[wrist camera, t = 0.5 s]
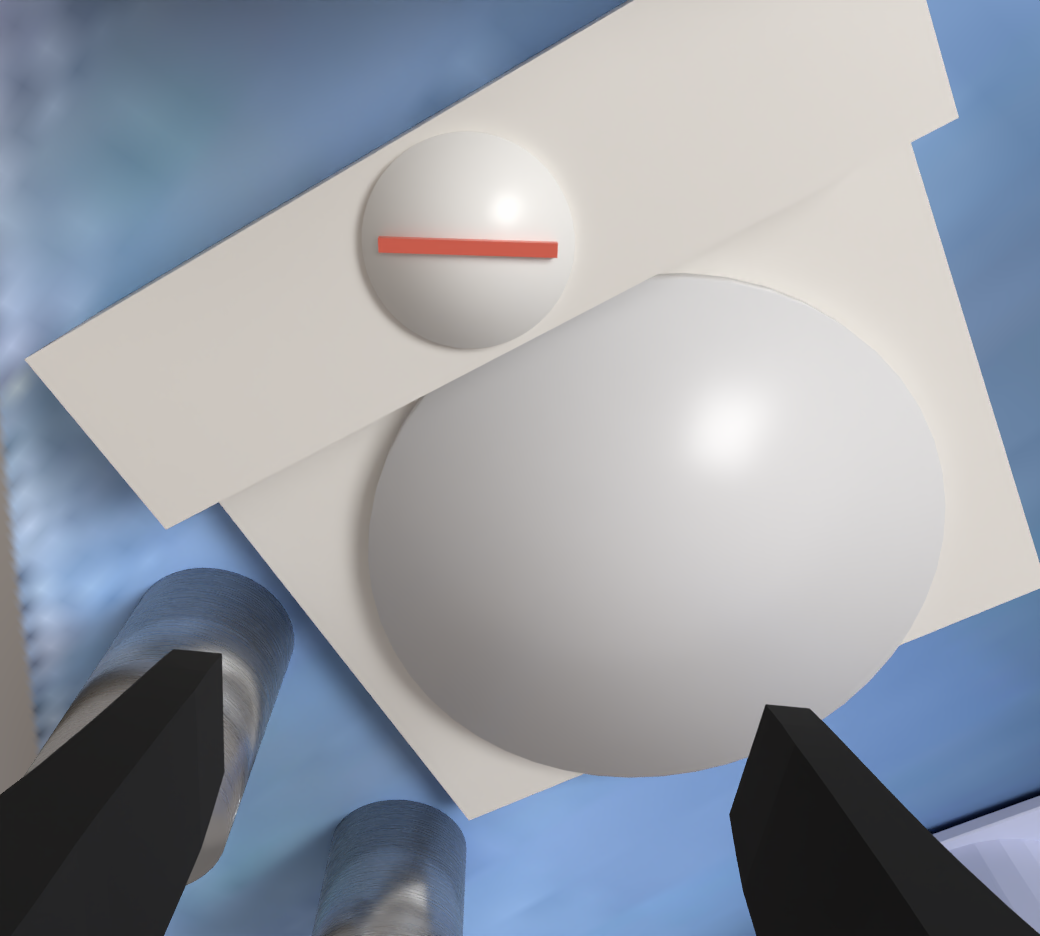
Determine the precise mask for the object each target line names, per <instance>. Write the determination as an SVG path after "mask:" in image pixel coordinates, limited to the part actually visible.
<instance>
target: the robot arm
mask: <svg viewBox="0 0 1040 936" xmlns="http://www.w3.org/2000/svg"><path fill="white" fill-rule="evenodd" d="M224 773H225V768H224V722H223V675H222V653H212V652H201V651H191V650H180V649H173V650H172V651H170V652H169V653H168V654H166V655H165V656H164V657H163V658H162V659H160V660H159V661H158V662H157V663H156V664H155V665H154V666H153V667H151V668H150V669H149V670H148V671H147V672H146V673H145V674H144V675H143V676H141V677H140V678H139V679H138V680H137V681H136V682H135V683H134V684H132V685H131V686H130V687H129V688H128V689H127V690H126V691H125V692H124V693H122V694H121V695H120V696H119V697H118V698H117V699H116V700H115V701H113V702H112V703H111V704H110V705H109V706H108V707H107V708H105V709H104V710H103V711H102V712H101V713H100V714H99V715H97V716H96V717H95V718H94V719H93V720H92V721H91V722H89V723H88V724H87V725H86V726H85V727H83V728H82V729H81V730H80V731H79V732H77V733H76V734H75V735H74V736H73V737H71V738H70V739H69V740H68V741H67V742H66V743H64V744H63V745H62V746H61V747H60V748H58V749H57V750H56V751H55V752H54V753H52V754H51V755H50V756H49V757H48V758H46V759H45V760H44V761H43V762H42V763H40V764H39V765H38V766H37V767H35V768H34V769H33V770H32V771H30V772H29V773H28V774H27V775H25V776H24V777H23V778H21V779H20V780H19V781H17V782H16V783H15V784H14V785H12V786H11V787H10V788H8V789H7V790H6V791H5V792H3V793H2V794H1V795H0V936H164V934H165V932H166V930H167V927H168V925H169V923H170V920H171V918H172V916H173V914H174V911H175V909H176V907H177V904H178V902H179V900H180V897H181V895H182V893H183V890H184V888H185V886H186V884H187V881H188V879H189V877H190V874H191V872H192V870H193V867H194V865H195V863H196V860H197V858H198V855H199V853H200V851H201V848H202V845H203V842H204V839H205V835H206V832H207V829H208V826H209V823H210V820H211V816H212V813H213V810H214V807H215V803H216V800H217V796H218V793H219V790H220V786H221V783H222V780H223V776H224ZM729 815H730V821H731V827H732V833H733V839H734V845H735V851H736V857H737V862H738V867H739V872H740V878H741V883H742V888H743V892H744V896H745V899H746V902H747V906H748V909H749V913H750V916H751V919H752V922H753V926H754V929H755V932H756V936H1040V796H1037V797H1034V798H1031V799H1029V800H1026V801H1023V802H1020V803H1018V804H1015V805H1012V806H1009V807H1006V808H1004V809H1001V810H998V811H995V812H993V813H990V814H987V815H984V816H982V817H979V818H976V819H973V820H970V821H968V822H965V823H962V824H959V825H957V826H954V827H951V828H948V829H946V830H943V831H940V832H937V833H934V834H931V833H930V832H929V831H928V830H927V829H926V828H925V827H924V826H923V825H922V824H921V823H920V822H919V821H918V820H917V819H916V818H915V817H914V816H913V815H912V814H911V813H910V812H909V811H908V810H907V809H906V808H905V807H904V806H903V804H902V803H901V802H900V801H899V800H898V799H897V798H896V797H895V796H894V795H893V794H892V793H891V792H890V791H889V790H888V789H887V788H886V787H885V786H884V785H883V784H882V783H881V782H880V781H879V780H878V779H877V777H876V776H875V775H874V774H873V773H872V772H871V771H870V770H869V769H868V768H867V767H866V766H865V765H864V764H863V763H862V762H861V761H860V760H859V759H858V757H857V756H856V755H855V754H854V753H853V752H852V751H851V750H850V749H849V748H848V747H847V746H846V745H845V744H844V743H843V742H842V741H841V740H840V739H839V738H838V736H837V735H836V734H835V733H834V732H833V731H832V730H831V729H830V728H829V727H828V726H827V725H826V724H825V723H824V722H823V721H822V720H821V719H820V718H819V717H818V716H817V715H816V714H815V713H814V712H813V711H812V710H811V709H810V708H801V707H790V706H779V705H769V704H766V705H765V708H764V711H763V714H762V717H761V720H760V723H759V726H758V729H757V732H756V735H755V738H754V741H753V744H752V747H751V750H750V753H749V756H748V759H747V762H746V765H745V768H744V772H743V775H742V778H741V781H740V784H739V787H738V790H737V793H736V796H735V799H734V802H733V805H732V808H731V811H730V814H729Z"/></svg>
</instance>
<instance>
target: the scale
mask: <svg viewBox="0 0 1040 936" xmlns="http://www.w3.org/2000/svg"><path fill="white" fill-rule="evenodd" d="M957 118H959V117H958V113H957V109H956V106H955V102H954V99H953V95H952V92H951V88H950V84H949V81H948V77H947V74H946V70H945V67H944V63H943V59H942V56H941V52H940V49H939V45H938V41H937V38H936V34H935V31H934V27H933V24H932V20H931V16H930V13H929V9H928V6H927V2H926V0H627V1H626V2H624V3H622V4H621V5H619V6H617V7H616V8H614V9H612V10H610V11H609V12H607V13H605V14H604V15H602V16H600V17H599V18H597V19H595V20H594V21H592V22H590V23H588V24H587V25H585V26H583V27H582V28H580V29H578V30H577V31H575V32H573V33H571V34H570V35H568V36H566V37H565V38H563V39H561V40H560V41H558V42H556V43H555V44H553V45H551V46H549V47H548V48H546V49H544V50H543V51H541V52H539V53H538V54H536V55H534V56H532V57H531V58H529V59H527V60H526V61H524V62H522V63H521V64H519V65H517V66H516V67H514V68H512V69H510V70H509V71H507V72H505V73H504V74H502V75H500V76H499V77H497V78H495V79H494V80H492V81H490V82H488V83H487V84H485V85H483V86H482V87H480V88H478V89H477V90H475V91H473V92H471V93H470V94H468V95H466V96H465V97H463V98H461V99H460V100H458V101H456V102H455V103H453V104H451V105H449V106H448V107H446V108H444V109H443V110H441V111H439V112H438V113H436V114H434V115H432V116H431V117H429V118H427V119H426V120H424V121H422V122H421V123H419V124H417V125H416V126H414V127H412V128H410V129H409V130H407V131H405V132H404V133H402V134H400V135H399V136H397V137H395V138H394V139H392V140H390V141H388V142H387V143H385V144H383V145H382V146H380V147H378V148H377V149H375V150H373V151H371V152H370V153H368V154H366V155H365V156H363V157H361V158H360V159H358V160H356V161H355V162H353V163H351V164H349V165H348V166H346V167H344V168H343V169H341V170H339V171H338V172H336V173H334V174H333V175H331V176H329V177H327V178H326V179H324V180H322V181H321V182H319V183H317V184H316V185H314V186H312V187H310V188H309V189H307V190H305V191H304V192H302V193H300V194H299V195H297V196H295V197H294V198H292V199H290V200H288V201H287V202H285V203H283V204H282V205H280V206H278V207H277V208H275V209H273V210H271V211H270V212H268V213H266V214H265V215H263V216H261V217H260V218H258V219H256V220H255V221H253V222H251V223H249V224H248V225H246V226H244V227H243V228H241V229H239V230H238V231H236V232H234V233H233V234H231V235H229V236H227V237H226V238H224V239H222V240H221V241H219V242H217V243H216V244H214V245H212V246H210V247H209V248H207V249H205V250H204V251H202V252H200V253H199V254H197V255H195V256H194V257H192V258H190V259H188V260H187V261H185V262H183V263H182V264H180V265H178V266H177V267H175V268H173V269H172V270H170V271H168V272H166V273H165V274H163V275H161V276H160V277H158V278H156V279H155V280H153V281H151V282H149V283H148V284H146V285H144V286H143V287H141V288H139V289H138V290H136V291H134V292H133V293H131V294H129V295H127V296H126V297H124V298H122V299H121V300H119V301H117V302H116V303H114V304H112V305H110V306H109V307H107V308H105V309H104V310H102V311H100V312H99V313H97V314H96V315H94V316H92V317H91V318H89V319H88V320H86V321H84V322H83V323H81V324H80V325H78V326H77V327H75V328H73V329H72V330H70V331H69V332H67V333H65V334H64V335H62V336H61V337H59V338H57V339H56V340H54V341H53V342H51V343H50V344H48V345H46V346H45V347H43V348H42V349H40V350H38V351H37V352H35V353H34V354H32V355H31V356H29V357H27V358H26V359H25V361H26V362H27V363H28V364H29V365H30V367H31V368H32V369H33V370H34V371H35V373H36V374H37V375H38V376H39V377H40V379H41V380H42V381H43V382H44V383H45V385H46V386H47V387H48V388H49V390H50V391H51V392H52V393H53V394H54V396H55V397H56V398H57V399H58V400H59V402H60V403H61V404H62V405H63V406H64V408H65V409H66V410H67V411H68V412H69V414H70V415H71V416H72V417H73V418H74V420H75V421H76V422H77V423H78V424H79V426H80V427H81V428H82V429H83V430H84V432H85V433H86V434H87V435H88V436H89V438H90V439H91V440H92V441H93V442H94V444H95V445H96V446H97V447H98V448H99V450H100V451H101V452H102V453H103V454H104V456H105V457H106V458H107V459H108V460H109V462H110V463H111V464H112V465H113V466H114V468H115V469H116V470H117V471H118V472H119V474H120V475H121V476H122V477H123V478H124V480H125V481H126V482H127V483H128V484H129V486H130V487H131V488H132V489H133V490H134V492H135V493H136V494H137V495H138V496H139V498H140V499H141V500H142V501H143V503H144V504H145V505H146V506H147V507H148V509H149V510H150V511H151V512H152V513H153V515H154V516H155V517H156V518H157V519H158V521H159V522H160V523H161V524H162V525H163V527H164V528H165V529H168V528H170V527H172V526H174V525H176V524H178V523H180V522H182V521H184V520H185V519H187V518H189V517H191V516H193V515H195V514H197V513H199V512H201V511H203V510H205V509H207V508H209V507H210V506H212V505H214V504H216V503H218V502H219V503H220V504H221V506H222V507H223V508H224V509H225V511H226V512H227V513H228V514H229V516H230V517H231V518H232V520H233V521H234V522H235V523H236V525H237V526H238V527H239V528H240V530H241V531H242V532H243V534H244V535H245V536H246V537H247V539H248V540H249V541H250V542H251V544H252V545H253V546H254V548H255V549H256V550H257V551H258V553H259V554H260V555H261V556H262V558H263V559H264V560H265V561H266V563H267V564H268V565H269V567H270V568H271V569H272V570H273V572H274V573H275V574H276V575H277V577H278V578H279V579H280V581H281V582H282V583H283V584H284V586H285V587H286V588H287V589H288V591H289V592H290V593H291V595H292V596H293V597H294V598H295V600H296V601H297V602H298V603H299V605H300V606H301V607H302V609H303V610H304V611H305V612H306V614H307V615H308V616H309V617H310V619H311V620H312V621H313V623H314V624H315V625H316V626H317V628H318V629H319V630H320V631H321V633H322V634H323V635H324V636H325V638H326V639H327V640H328V642H329V643H330V644H331V645H332V647H333V648H334V649H335V650H336V652H337V653H338V654H339V656H340V657H341V658H342V659H343V661H344V662H345V663H346V664H347V666H348V667H349V668H350V670H351V671H352V672H353V673H354V675H355V676H356V677H357V678H358V680H359V681H360V682H361V684H362V685H363V686H364V687H365V689H366V690H367V691H368V692H369V694H370V695H371V696H372V698H373V699H374V700H375V701H376V703H377V704H378V705H379V706H380V708H381V709H382V710H383V711H384V713H385V714H386V715H387V717H388V718H389V719H390V720H391V722H392V723H393V724H394V725H395V727H396V728H397V729H398V731H399V732H400V733H401V734H402V736H403V737H404V738H405V739H406V741H407V742H408V743H409V745H410V746H411V747H412V748H413V750H414V751H415V752H416V753H417V755H418V756H419V757H420V759H421V760H422V761H423V762H424V764H425V765H426V766H427V767H428V769H429V770H430V771H431V773H432V774H433V775H434V776H435V778H436V779H437V780H438V781H439V783H440V784H441V785H442V787H443V788H444V789H445V790H446V792H447V793H448V794H449V795H450V797H451V798H452V799H453V800H454V802H455V803H456V804H457V806H458V807H459V808H460V809H461V811H462V812H463V813H464V814H465V816H466V817H467V818H468V820H471V819H474V818H476V817H479V816H481V815H484V814H486V813H488V812H491V811H493V810H496V809H498V808H501V807H503V806H506V805H508V804H511V803H513V802H516V801H518V800H520V799H523V798H525V797H528V796H530V795H533V794H535V793H538V792H540V791H543V790H545V789H547V788H550V787H552V786H555V785H557V784H560V783H562V782H565V781H567V780H570V779H572V778H575V777H577V776H579V775H582V774H590V775H597V776H613V777H654V776H667V775H674V774H682V773H689V772H696V771H700V770H704V769H708V768H713V767H717V766H721V765H725V764H729V763H732V762H735V761H738V760H741V759H743V758H746V757H748V756H749V753H750V750H751V747H752V744H753V741H754V738H755V735H756V732H757V729H758V726H759V723H760V720H761V717H762V714H763V711H764V708H765V705H766V704H769V705H779V706H790V707H801V708H810V709H811V710H812V711H813V712H814V713H815V714H816V715H817V716H818V717H819V718H820V719H821V720H822V719H824V718H825V717H827V716H828V715H829V714H831V713H832V712H834V711H835V710H836V709H838V708H839V707H840V706H842V705H843V704H845V703H846V702H847V701H848V700H849V699H850V698H851V697H852V696H853V695H855V694H856V693H857V692H858V691H859V690H860V689H861V688H862V687H863V686H865V685H866V684H867V683H868V682H869V681H870V680H871V679H872V678H873V676H874V675H875V674H876V673H877V672H878V671H879V670H880V669H881V667H882V666H883V665H884V664H885V663H886V662H887V661H888V660H889V659H890V657H891V656H892V655H893V653H894V652H895V650H896V649H897V648H898V646H899V645H901V644H904V643H906V642H909V641H911V640H914V639H916V638H919V637H921V636H924V635H926V634H929V633H931V632H933V631H936V630H938V629H941V628H943V627H946V626H948V625H951V624H953V623H956V622H958V621H960V620H963V619H965V618H968V617H970V616H973V615H975V614H978V613H980V612H983V611H985V610H988V609H990V608H992V607H995V606H997V605H1000V604H1002V603H1005V602H1007V601H1010V600H1012V599H1015V598H1017V597H1019V596H1022V595H1024V594H1027V593H1029V592H1032V591H1034V590H1037V589H1039V588H1040V563H1039V560H1038V557H1037V554H1036V550H1035V547H1034V544H1033V540H1032V537H1031V534H1030V531H1029V527H1028V524H1027V521H1026V518H1025V514H1024V511H1023V508H1022V505H1021V501H1020V498H1019V495H1018V491H1017V488H1016V485H1015V482H1014V478H1013V475H1012V472H1011V469H1010V465H1009V462H1008V459H1007V456H1006V452H1005V449H1004V446H1003V442H1002V439H1001V436H1000V433H999V429H998V426H997V423H996V420H995V416H994V413H993V410H992V407H991V403H990V400H989V397H988V393H987V390H986V387H985V384H984V380H983V377H982V374H981V371H980V367H979V364H978V361H977V358H976V354H975V351H974V348H973V345H972V341H971V338H970V335H969V331H968V328H967V325H966V322H965V318H964V315H963V312H962V309H961V305H960V302H959V299H958V296H957V292H956V289H955V286H954V282H953V279H952V276H951V273H950V269H949V266H948V263H947V260H946V256H945V253H944V250H943V247H942V243H941V240H940V237H939V233H938V230H937V227H936V224H935V220H934V217H933V214H932V211H931V207H930V204H929V201H928V198H927V194H926V191H925V188H924V185H923V181H922V178H921V175H920V171H919V168H918V165H917V162H916V158H915V155H914V152H913V149H912V145H911V142H913V141H914V140H916V139H918V138H920V137H922V136H924V135H926V134H928V133H930V132H932V131H934V130H936V129H938V128H939V127H941V126H943V125H945V124H947V123H949V122H951V121H953V120H955V119H957Z"/></svg>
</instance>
